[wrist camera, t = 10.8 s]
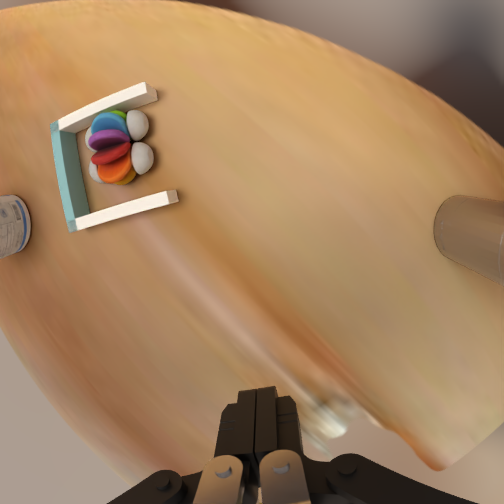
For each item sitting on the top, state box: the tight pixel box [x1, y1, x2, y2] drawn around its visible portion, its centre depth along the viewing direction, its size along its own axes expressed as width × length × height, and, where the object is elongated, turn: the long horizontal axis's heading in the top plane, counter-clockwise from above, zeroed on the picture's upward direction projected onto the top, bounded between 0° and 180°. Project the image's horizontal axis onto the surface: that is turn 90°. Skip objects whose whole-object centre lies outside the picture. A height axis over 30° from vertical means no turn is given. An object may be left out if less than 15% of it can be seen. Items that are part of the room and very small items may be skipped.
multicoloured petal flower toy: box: [85, 110, 154, 185], centre depth 32 cm, size 8×10×7 cm
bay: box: [50, 82, 179, 233], centre depth 34 cm, size 14×15×4 cm
